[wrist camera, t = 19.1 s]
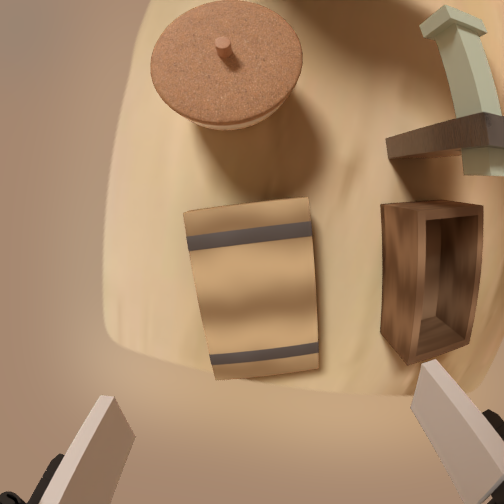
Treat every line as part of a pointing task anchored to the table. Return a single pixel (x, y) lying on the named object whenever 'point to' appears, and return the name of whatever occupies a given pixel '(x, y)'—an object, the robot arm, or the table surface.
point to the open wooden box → (430, 275)
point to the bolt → (467, 78)
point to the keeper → (449, 137)
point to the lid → (256, 286)
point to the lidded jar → (226, 64)
